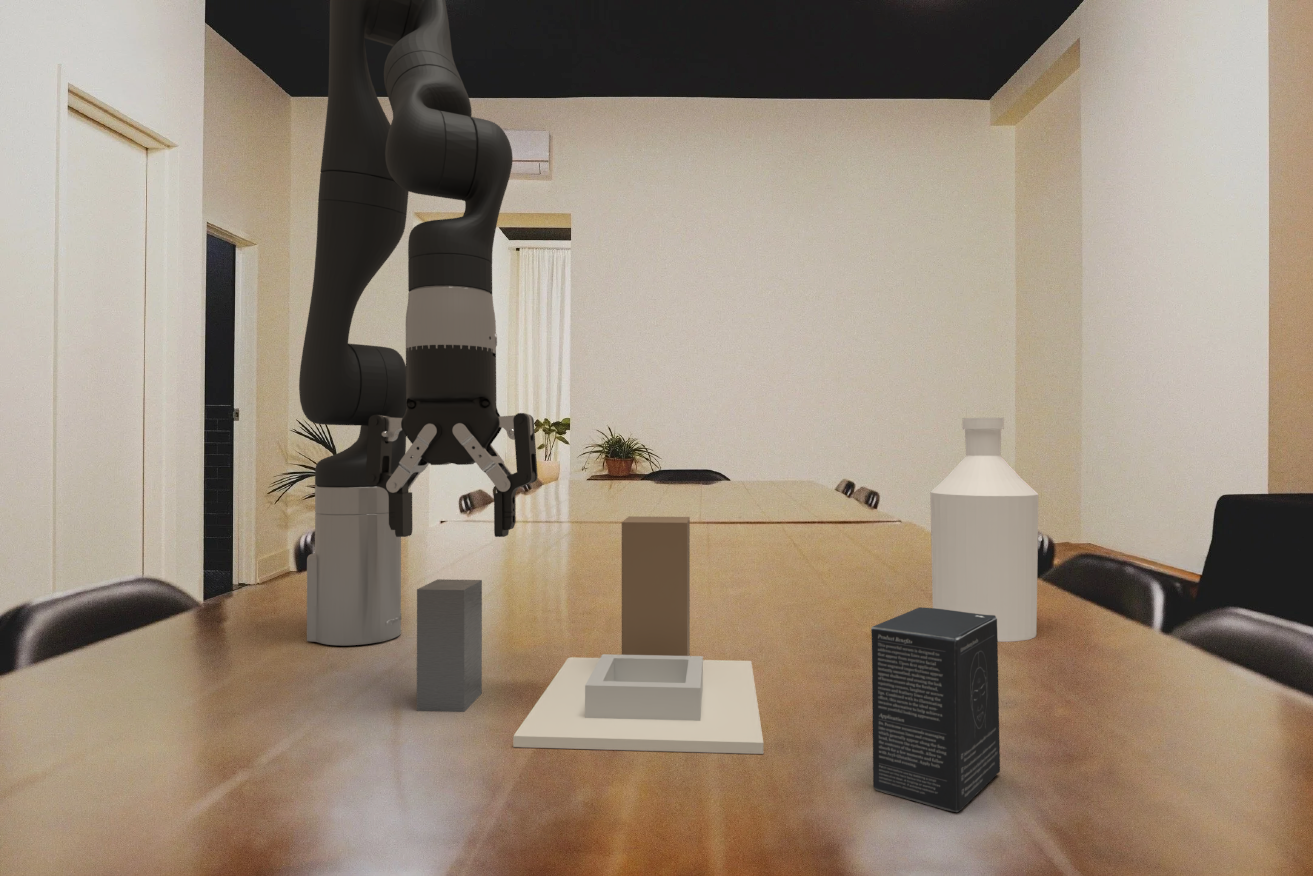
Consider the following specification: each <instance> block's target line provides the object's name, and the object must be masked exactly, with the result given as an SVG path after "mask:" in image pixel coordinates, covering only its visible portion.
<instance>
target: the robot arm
mask: <svg viewBox="0 0 1313 876" xmlns="http://www.w3.org/2000/svg"><path fill="white" fill-rule="evenodd" d="M447 8H448V7H447V2H446V0H329V40H328V41H329V43H328V45H329V51H328V53H329V55H328V60H329V61H328V63H329V64H328V93H327V106H326V114H325V115H326V118H325V124H324V125H325V126H324V137H323V145H322V154H321V162H320V163H321V164H320V174H319V185H318V186H319V188H318V198H317V199H318V202H317V222H316V223H317V224H316V226H317V227H316V228H317V229H316V241H315V242H316V245H315V257H314V258H315V260H314V270H313V272H314V273H313V282H312V291H311V297H310V304H309V309H308V317H307V322H306V327H305V328H306V329H305V333H304V334H305V335H304V340H303V346H302V354H301V361H300V369H299V378H298V381H299V382H298V390H299V402H300V406H301V410H302V412H303V414H304V415H305V418H306V419H307V420H308V421H310V422H311V423H313V424H317V425H323V426H324V425H325V426H326V425H327V426H328V425H329V426H360V427H359V428H360V429H359V435H358V438H357V440H356V441H355V442H354V443H353V444H351V445H350V446H349V447H347V448H346V449H344V450H342V451H340V452H338V453H336V454H335V453H334V454H333V455H329V456H327V457H325V458H322V459H320V460H319V461H318V462H317V463H316V465H315V469H314V553H311V554H309V555H308V556H307V558H306V642H315V643H318V644H323V645H327V646H329V645H330V646H356V645H357V646H359V645H360V646H361V645H368V644H369V645H370V644H375V643H382V642H386V641H389V640H392V639H395V638H397V637H399V636H401V633H402V628H401V627H402V538H406V537H411V536H412V535H413V492H409V489H410V488H411V487H412V485H413V484H414V482H415V481H416V480H417V479H418V477H419V476H420V475H421V473H423V472H424V471H425V470H426V469H427V468H428V466H429V465H430V466H447V465H449V464H450V465H451V464H453V465H458V466H459V465H462V466H464V465H467V466H468V465H474V464H475V463H476V465H477V466H478V467H479V469H480V470H481V471H482V472H483V473H484V474H486V475H487V476H488V478H489V480H490V481H491V482H492V484H493V485H494V486H495V487H496V489H497V492H494V493H493V524H494V525H493V527H494V528H493V531H494V532H493V533H494V534H493V535H494V537H495V538H505V537H507V536H508V535H509V532H510V530H512V529H514V528H515V525H516V523H517V522H516V520H517V519H516V518H517V517H516V492H517V491H518V490H519V488H522V487H524V486H526V485H527V486H528V485H530V484H532V483H533V484H534V483H536V481H537V480H538V464H537V463H538V461H537V447H536V434H535V432H536V431H535V423H534V422H535V421H534V417H533V416H532V415H531V414H528V413H525V412H519V413H516V414H515V415H503V416H501V415H500V413H499V411H498V407H497V406H498V405H497V346H498V334H497V325H496V323H497V322H496V315H495V307H494V299H493V249H494V241H495V235H496V230H497V224H498V220H499V216H500V212H501V208H502V204H503V200H504V197H505V193H506V190H507V188H508V184H509V180H510V177H511V172H512V168H513V149H512V146H511V142H510V140H509V138H508V135H507V133H506V132H505V131H504V130H503V128H502V127H501V126H500V125H498V124H497V123H495V122H493V121H491V120H488V119H485V118H481V117H480V118H479V117H475V116H474V117H473V116H472V105H471V101H470V98H469V97H470V96H469V95H468V93H467V89H466V88H465V85H464V82H463V80H462V78H461V76H460V73H459V71H458V69H457V66H456V63H455V61H454V60H455V59H454V57H453V56H454V55H453V49H452V42H451V32H450V31H451V30H450V22H449V17H448V9H447ZM366 39H367V40H370V41H374V42H378V43H381V44H384V45H387V46H391V49H390V51H389V52H388V54H387V56H386V59H385V62H384V68H383V80H384V81H383V83H384V87H385V88H384V89H385V90H386V94H387V98H388V101H389V104H390V107H391V112H392V120H391V122H390V121H389V118H388V116H387V115H386V113H385V111H384V109H383V107H382V104H381V102H380V100H379V99H378V95H377V93H376V90H375V87H374V84H373V82H372V78H371V74H370V69H369V65H368V58H367V51H366ZM409 193H413V194H416V195H421V196H430V197H436V198H444V199H449V200H456V201H463V202H465V208H464V212H463V215H462V216H458V217H453V218H452V217H451V218H444V219H441V218H440V219H432V220H427V221H422V222H420V223H418V224H416V225H414V227H413V228H412V229H411V231H410V233H409V235H408V241H407V242H408V243H407V244H408V245H407V248H408V249H407V254H408V255H407V257H408V259H407V260H408V262H407V263H408V264H407V269H408V270H407V271H408V275H407V276H408V277H407V279H408V280H407V281H408V285H407V286H408V289H407V290H408V295H407V299H408V300H407V305H406V314H405V360H404V358H403V356H402V354H400V352H398V351H397V350H396V349H394V348H391V347H387V346H379V345H368V344H356V343H349V339H350V330H351V326H352V325H351V324H352V321H353V316H354V314H355V310H356V307H357V304H358V302H359V300H360V298H361V297H362V295H363V293H364V291H365V290H366V288H367V286H368V285H369V283H370V282H371V281H372V279H373V278H374V277H375V275H376V274H377V273H378V272H379V271H380V269H381V268H382V267H383V265H384V264H385V262H386V261H387V260H388V259H389V258H390V257H391V255H392V254H393V252H394V251H395V250H396V248H397V246H398V245H399V243H400V241H401V239H402V237H403V235H404V233H405V229H406V223H407V214H408V203H409ZM502 429H504V430H505V431H506V434H507V437H508V438H509V439H510V440H514V450H515V462H516V463H515V465H516V472H513V473H512V472H511V470H510V469H509V468H508V467H507V466H506V464H505V462H504V459H503V458H502V456H500V455H499V453H498V451H497V450H496V449H495V448H494V447H493V445H492V444H493V443H494V441H495V440H496V438H497V437H498V435H499V434H500V432H501V431H502ZM407 440H409V441H410V443H411V446H410V447H408V449H407ZM406 450H407V451H406Z"/></svg>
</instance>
